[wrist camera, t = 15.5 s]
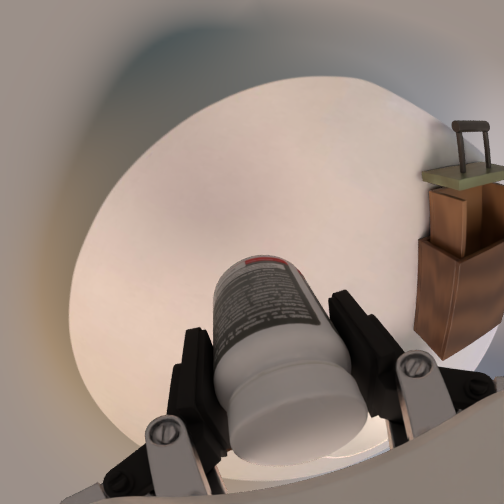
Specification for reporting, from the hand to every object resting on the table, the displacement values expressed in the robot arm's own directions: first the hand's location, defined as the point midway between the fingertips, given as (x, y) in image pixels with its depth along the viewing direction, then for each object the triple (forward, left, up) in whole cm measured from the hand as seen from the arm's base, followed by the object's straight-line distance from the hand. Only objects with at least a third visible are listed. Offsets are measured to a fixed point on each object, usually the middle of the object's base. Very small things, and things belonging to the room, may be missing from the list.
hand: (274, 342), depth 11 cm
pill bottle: (0, 0, -4) cm, 4 cm away
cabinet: (-1, +34, -20) cm, 39 cm away
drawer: (-12, +27, -19) cm, 35 cm away
